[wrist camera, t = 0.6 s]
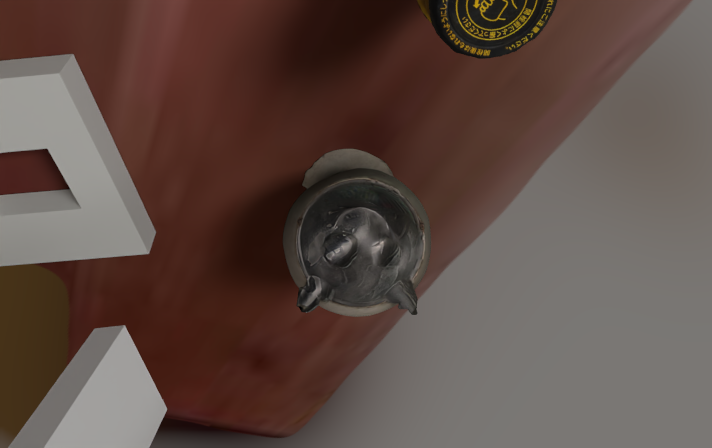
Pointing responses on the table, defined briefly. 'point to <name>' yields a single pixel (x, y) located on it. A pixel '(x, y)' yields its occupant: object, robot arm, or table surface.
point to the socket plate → (65, 170)
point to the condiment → (487, 24)
